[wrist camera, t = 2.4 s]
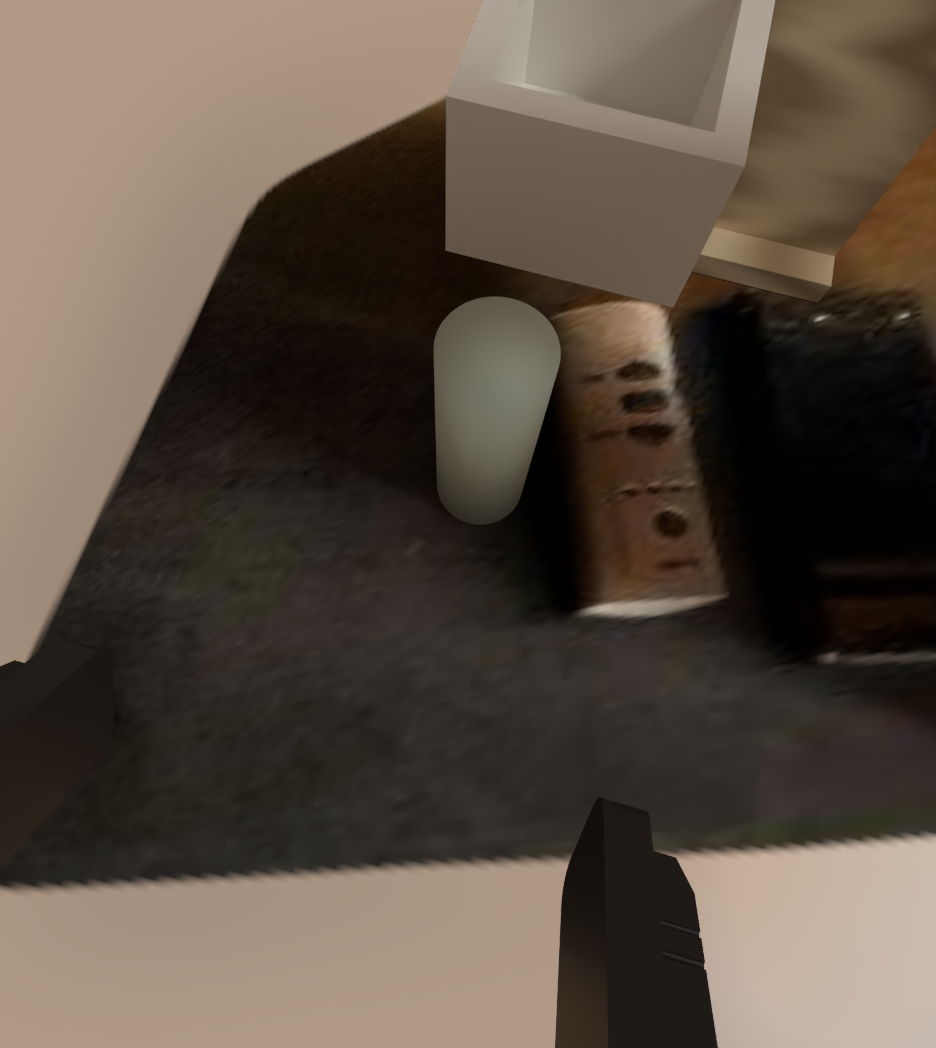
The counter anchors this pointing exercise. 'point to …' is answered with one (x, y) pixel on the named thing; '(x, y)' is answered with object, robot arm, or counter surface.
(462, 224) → the grey open box
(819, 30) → the oak board
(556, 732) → the counter surface
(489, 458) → the pale green rounded cylinder
